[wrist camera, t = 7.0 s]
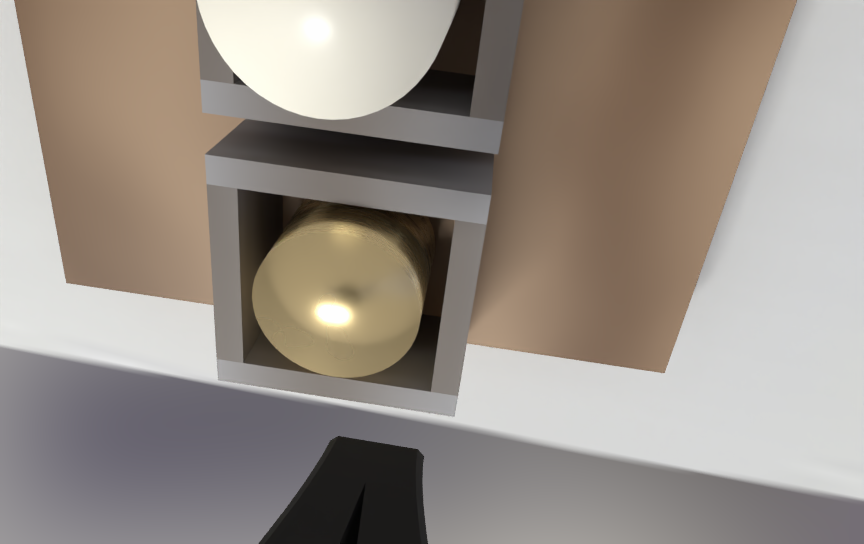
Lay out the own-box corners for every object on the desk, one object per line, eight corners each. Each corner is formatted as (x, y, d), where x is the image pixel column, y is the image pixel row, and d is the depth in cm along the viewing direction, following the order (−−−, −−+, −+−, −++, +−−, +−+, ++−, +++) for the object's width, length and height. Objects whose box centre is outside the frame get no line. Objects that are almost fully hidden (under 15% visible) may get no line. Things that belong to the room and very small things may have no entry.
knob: (443, 185, 15) (428, 247, 13) (426, 311, 17) (411, 388, 14) (294, 164, 15) (249, 220, 13) (292, 291, 17) (253, 364, 15)
